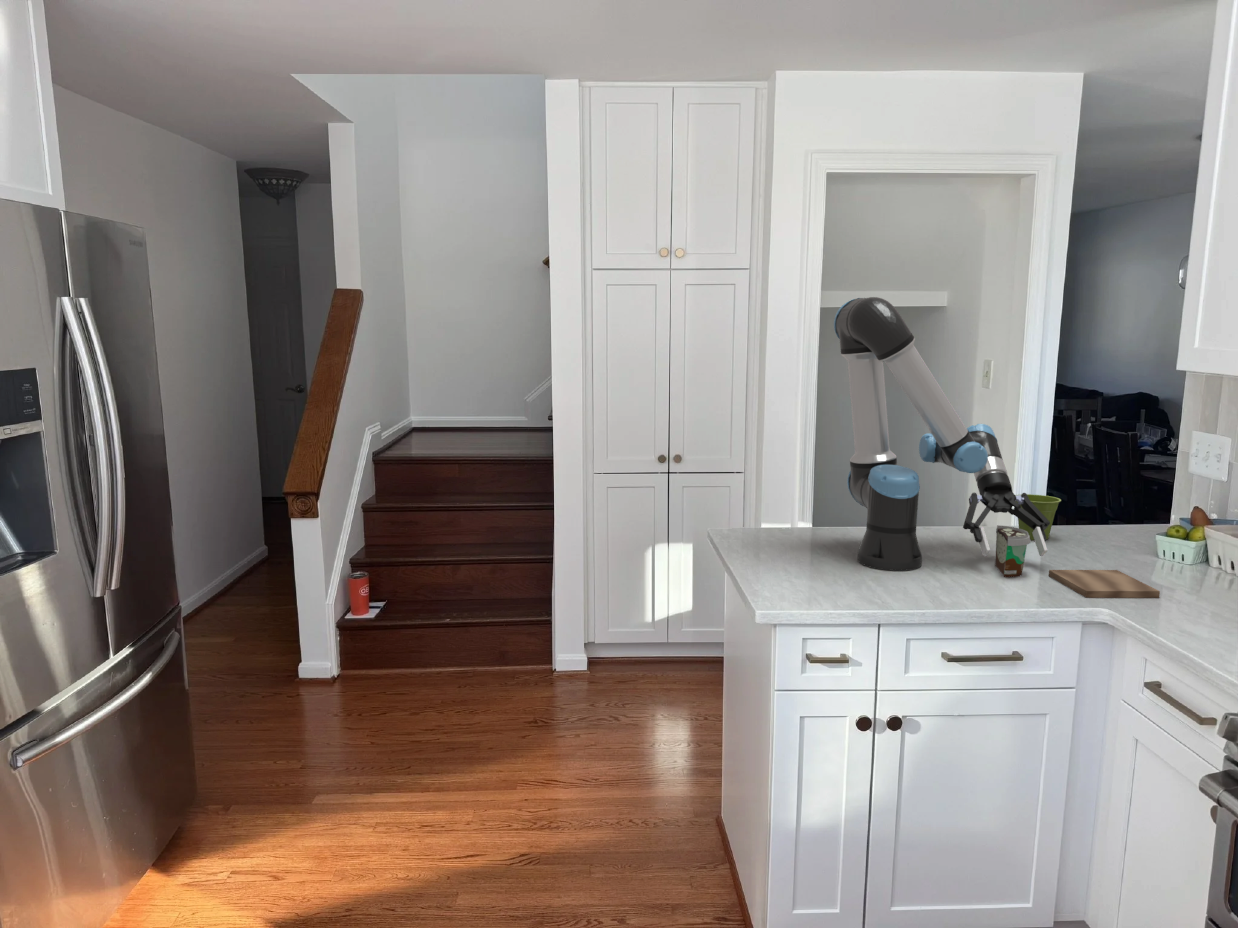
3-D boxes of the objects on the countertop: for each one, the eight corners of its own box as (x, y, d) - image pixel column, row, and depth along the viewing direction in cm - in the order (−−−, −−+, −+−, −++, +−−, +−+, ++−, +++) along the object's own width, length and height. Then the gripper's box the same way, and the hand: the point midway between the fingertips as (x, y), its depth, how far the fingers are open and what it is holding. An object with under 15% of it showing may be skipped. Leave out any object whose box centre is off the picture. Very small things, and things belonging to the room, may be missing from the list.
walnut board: (1085, 597, 186) (1086, 590, 186) (1048, 575, 202) (1049, 569, 201) (1159, 597, 186) (1159, 591, 186) (1116, 576, 202) (1116, 569, 202)
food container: (1033, 580, 198) (1037, 538, 196) (1005, 578, 199) (1008, 537, 198) (1020, 565, 210) (1023, 526, 208) (993, 564, 211) (996, 524, 209)
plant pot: (1059, 536, 239) (1062, 496, 237) (1055, 545, 229) (1059, 504, 227) (1012, 530, 245) (1016, 491, 244) (1007, 539, 235) (1010, 499, 234)
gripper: (1035, 487, 219) (1060, 561, 207) (938, 487, 219) (957, 560, 206) (1047, 470, 213) (1074, 545, 201) (947, 470, 213) (968, 545, 200)
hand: (1015, 553), depth 203 cm, fingers open, 13 cm apart
